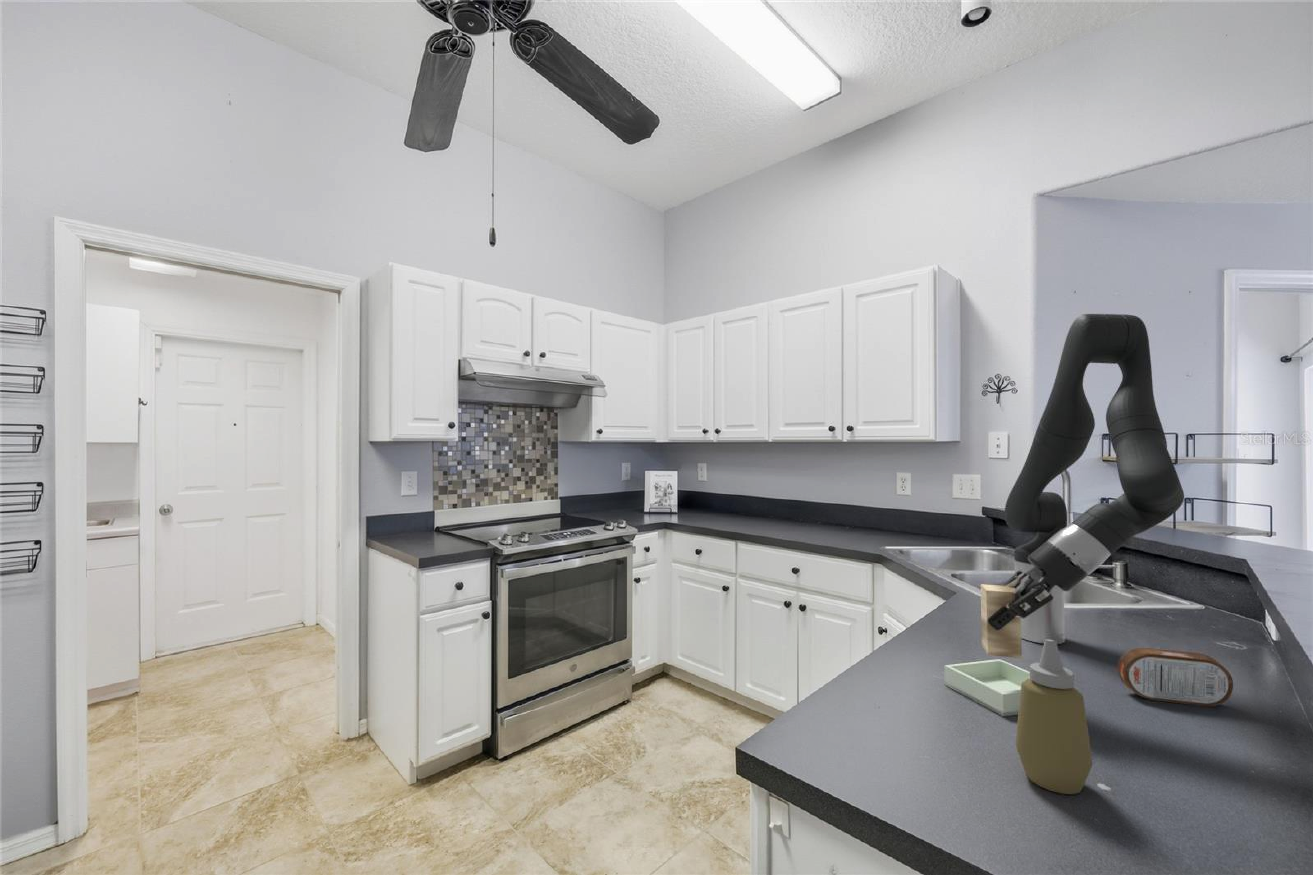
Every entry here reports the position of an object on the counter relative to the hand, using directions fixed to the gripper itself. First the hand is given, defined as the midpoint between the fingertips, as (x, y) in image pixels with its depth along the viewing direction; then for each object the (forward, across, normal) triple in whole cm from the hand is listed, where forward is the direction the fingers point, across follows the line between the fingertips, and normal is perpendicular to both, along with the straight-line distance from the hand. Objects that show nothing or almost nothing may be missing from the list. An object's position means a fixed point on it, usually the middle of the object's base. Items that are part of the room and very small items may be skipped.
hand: (988, 621), depth 97 cm
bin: (+8, 0, +10) cm, 13 cm away
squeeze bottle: (+8, +26, +11) cm, 30 cm away
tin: (-11, -8, +30) cm, 33 cm away
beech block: (+2, 0, +5) cm, 5 cm away
